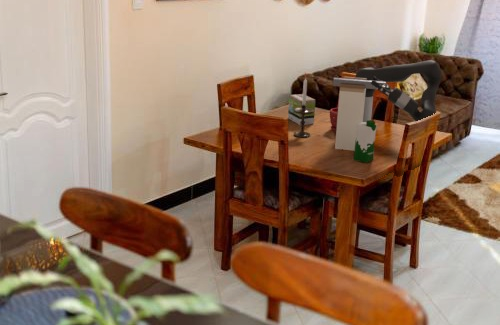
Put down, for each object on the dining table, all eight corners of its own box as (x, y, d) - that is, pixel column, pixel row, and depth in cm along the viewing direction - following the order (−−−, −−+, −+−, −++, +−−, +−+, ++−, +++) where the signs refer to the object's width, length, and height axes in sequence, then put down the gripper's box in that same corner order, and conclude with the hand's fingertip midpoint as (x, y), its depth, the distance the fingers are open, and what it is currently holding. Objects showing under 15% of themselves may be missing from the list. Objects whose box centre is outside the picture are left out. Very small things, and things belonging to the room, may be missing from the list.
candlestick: (301, 139, 365) (305, 74, 353) (287, 134, 373) (291, 71, 361) (315, 136, 371) (320, 72, 360) (302, 131, 379) (306, 69, 368)
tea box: (287, 118, 404) (288, 94, 400) (302, 117, 408) (303, 93, 404) (299, 125, 391) (300, 100, 387) (314, 124, 396) (316, 99, 391)
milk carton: (366, 163, 329) (370, 124, 323) (350, 159, 335) (354, 120, 328) (375, 159, 336) (379, 120, 329) (359, 155, 341) (363, 117, 335)
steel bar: (385, 88, 343) (385, 81, 342) (384, 90, 340) (385, 83, 339) (333, 84, 348) (334, 77, 347) (332, 85, 345) (333, 78, 344)
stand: (361, 138, 371) (367, 77, 360) (358, 151, 349) (364, 86, 338) (339, 136, 373) (344, 75, 362) (334, 148, 351) (340, 84, 340)
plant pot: (351, 128, 390) (353, 107, 386) (352, 134, 378) (354, 113, 374) (328, 126, 391) (330, 106, 387) (328, 132, 379) (330, 112, 375)
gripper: (403, 89, 346) (377, 71, 347) (403, 95, 333) (375, 76, 333) (394, 100, 349) (368, 83, 349) (394, 107, 336) (367, 88, 336)
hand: (372, 79), depth 341 cm, fingers open, 8 cm apart
